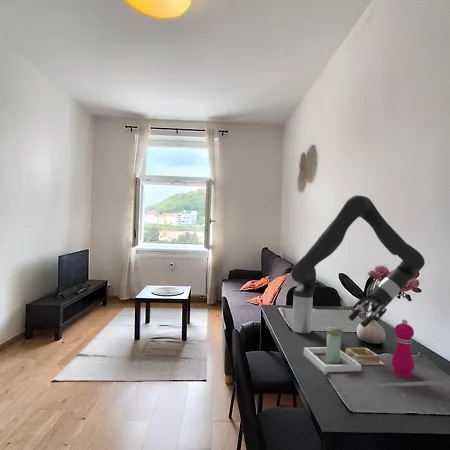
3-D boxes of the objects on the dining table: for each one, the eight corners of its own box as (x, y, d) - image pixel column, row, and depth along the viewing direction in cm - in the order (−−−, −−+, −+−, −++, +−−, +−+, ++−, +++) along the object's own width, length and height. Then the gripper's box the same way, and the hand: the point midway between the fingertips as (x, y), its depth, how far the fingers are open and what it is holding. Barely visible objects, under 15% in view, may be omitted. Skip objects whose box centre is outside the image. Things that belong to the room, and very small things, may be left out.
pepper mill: (401, 381, 117) (404, 322, 117) (386, 372, 124) (388, 317, 124) (418, 380, 119) (421, 322, 119) (402, 371, 126) (405, 316, 126)
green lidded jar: (321, 358, 133) (323, 327, 133) (336, 357, 134) (337, 327, 134) (328, 364, 127) (330, 332, 127) (344, 364, 128) (345, 331, 128)
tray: (303, 355, 138) (303, 347, 138) (336, 354, 140) (336, 347, 140) (324, 374, 120) (324, 366, 120) (361, 373, 122) (361, 365, 122)
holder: (339, 355, 139) (340, 346, 139) (366, 354, 141) (367, 346, 141) (355, 367, 127) (356, 358, 127) (385, 366, 129) (385, 357, 129)
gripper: (367, 282, 140) (340, 310, 138) (390, 289, 126) (360, 320, 124) (379, 295, 141) (352, 323, 139) (402, 303, 127) (373, 335, 125)
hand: (355, 322), depth 132 cm, fingers open, 8 cm apart
